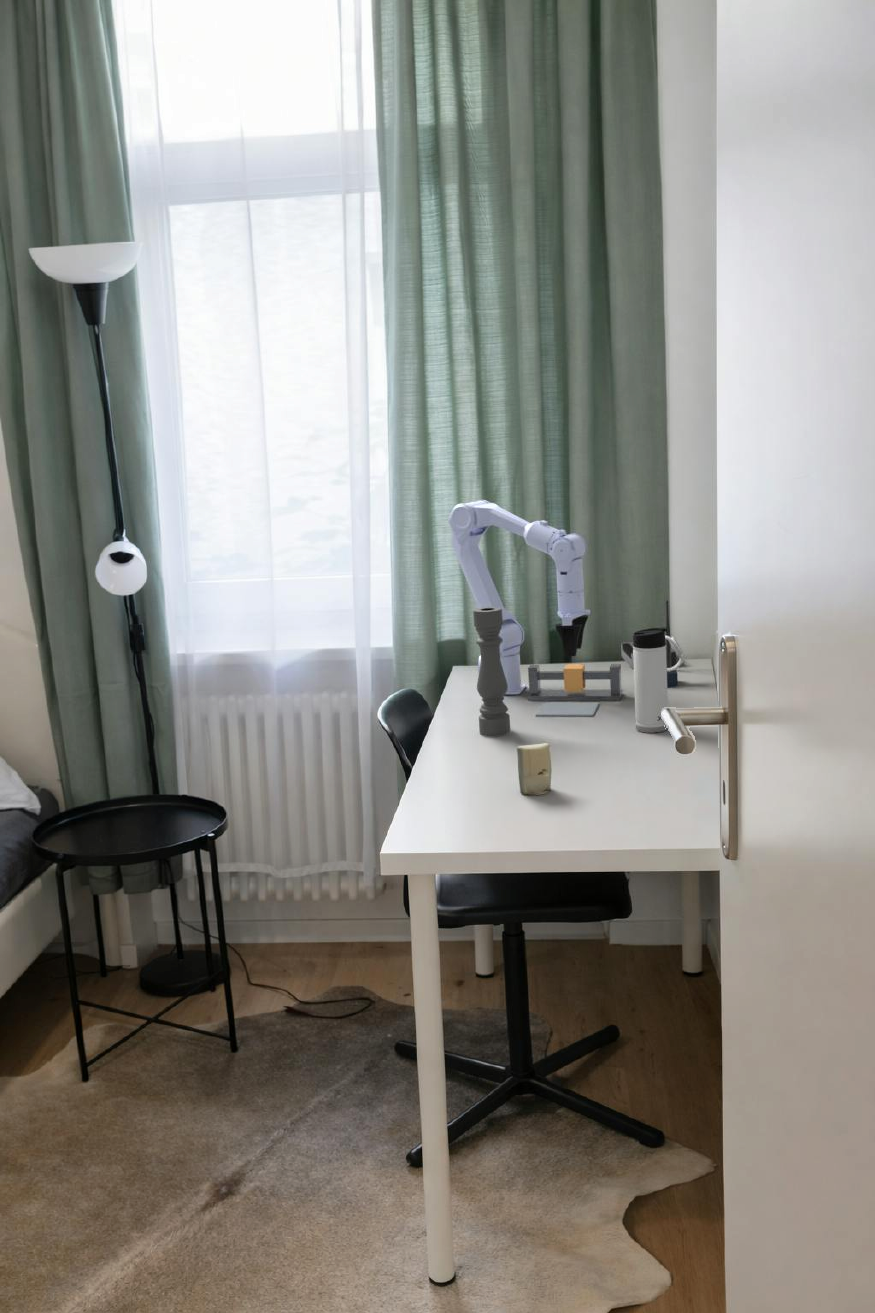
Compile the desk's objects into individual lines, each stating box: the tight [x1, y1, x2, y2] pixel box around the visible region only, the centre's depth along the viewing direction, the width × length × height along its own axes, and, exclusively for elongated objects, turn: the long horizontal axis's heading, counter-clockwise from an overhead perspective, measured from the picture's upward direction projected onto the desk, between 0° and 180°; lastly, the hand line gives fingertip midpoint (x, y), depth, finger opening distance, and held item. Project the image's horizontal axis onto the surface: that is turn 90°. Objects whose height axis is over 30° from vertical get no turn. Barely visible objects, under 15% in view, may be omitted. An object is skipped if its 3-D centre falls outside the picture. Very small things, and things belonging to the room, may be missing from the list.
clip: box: [563, 663, 586, 692], centre depth 247 cm, size 4×4×5 cm
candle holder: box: [472, 607, 511, 737], centre depth 223 cm, size 6×6×25 cm
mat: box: [535, 701, 600, 717], centre depth 238 cm, size 12×10×1 cm
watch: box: [665, 635, 685, 688], centre depth 253 cm, size 6×8×11 cm
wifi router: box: [620, 599, 677, 671], centre depth 275 cm, size 20×14×17 cm
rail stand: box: [527, 663, 623, 702], centre depth 247 cm, size 20×6×7 cm, turn 74°
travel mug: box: [632, 626, 669, 734], centre depth 217 cm, size 6×7×20 cm
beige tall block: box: [516, 742, 553, 796], centre depth 187 cm, size 6×5×8 cm
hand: (573, 652), depth 246 cm, fingers open, 7 cm apart
